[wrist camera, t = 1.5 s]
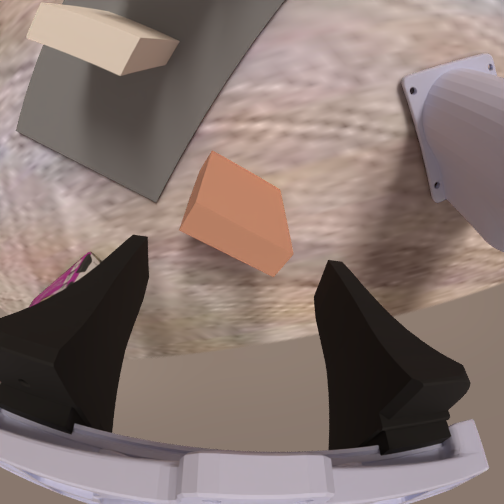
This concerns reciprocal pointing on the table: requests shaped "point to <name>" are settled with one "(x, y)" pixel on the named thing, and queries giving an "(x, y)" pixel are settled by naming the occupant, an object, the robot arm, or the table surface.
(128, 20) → the domino
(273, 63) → the table surface
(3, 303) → the table surface
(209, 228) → the domino
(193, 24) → the slate mat
